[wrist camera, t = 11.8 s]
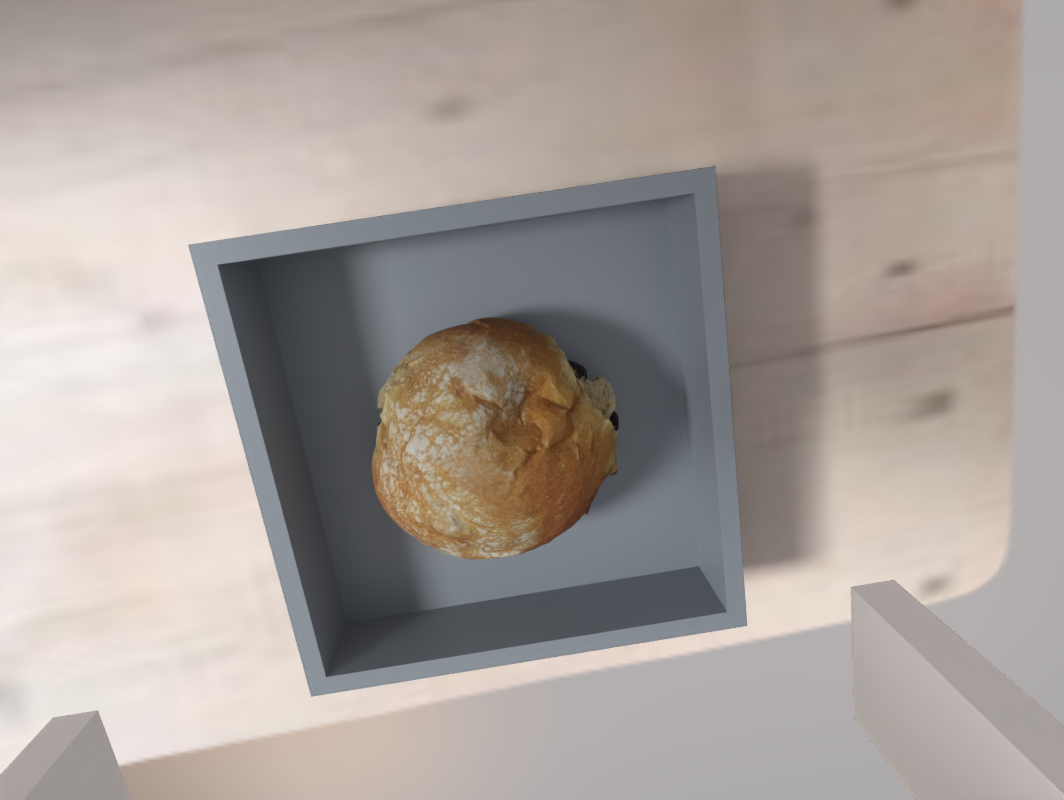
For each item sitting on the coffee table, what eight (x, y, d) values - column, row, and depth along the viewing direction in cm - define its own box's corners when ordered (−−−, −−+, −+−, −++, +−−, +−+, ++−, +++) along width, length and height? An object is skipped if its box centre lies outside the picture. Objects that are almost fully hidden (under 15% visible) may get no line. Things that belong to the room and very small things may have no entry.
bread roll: (434, 300, 31) (321, 311, 23) (647, 328, 27) (591, 351, 20) (425, 494, 33) (319, 559, 26) (619, 543, 29) (560, 635, 22)
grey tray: (336, 632, 31) (311, 696, 27) (238, 243, 27) (188, 244, 22) (712, 572, 32) (747, 625, 27) (679, 177, 27) (715, 166, 23)
